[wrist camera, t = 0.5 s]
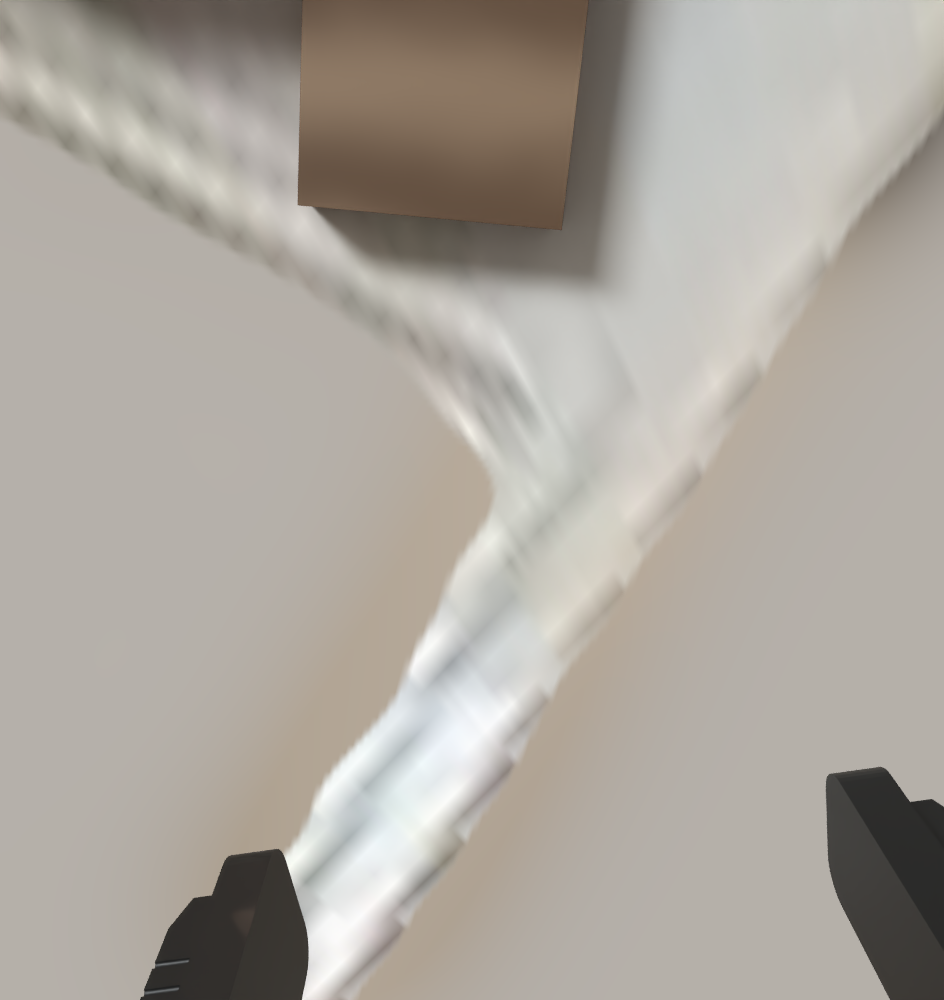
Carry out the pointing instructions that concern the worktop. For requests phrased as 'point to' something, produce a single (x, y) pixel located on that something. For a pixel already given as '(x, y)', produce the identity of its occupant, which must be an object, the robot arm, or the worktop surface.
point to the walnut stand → (440, 107)
